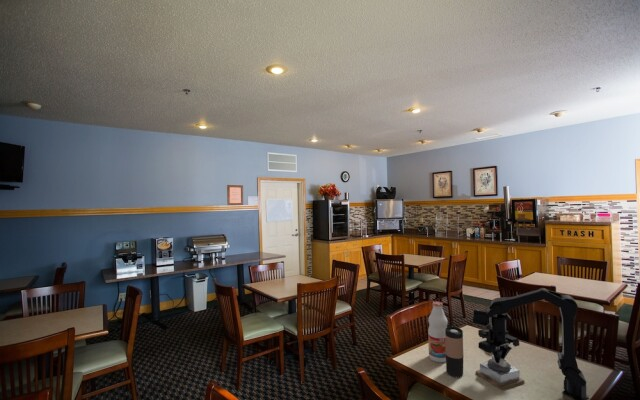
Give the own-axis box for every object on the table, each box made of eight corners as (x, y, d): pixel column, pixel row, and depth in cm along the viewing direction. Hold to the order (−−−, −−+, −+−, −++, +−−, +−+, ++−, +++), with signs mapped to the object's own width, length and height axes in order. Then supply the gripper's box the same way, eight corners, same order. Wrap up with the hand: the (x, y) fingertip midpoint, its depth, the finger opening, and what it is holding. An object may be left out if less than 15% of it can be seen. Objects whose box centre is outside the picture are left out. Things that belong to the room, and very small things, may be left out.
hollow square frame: (519, 379, 142) (519, 369, 142) (501, 384, 138) (501, 375, 138) (497, 367, 153) (497, 358, 153) (479, 372, 149) (479, 363, 149)
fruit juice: (445, 354, 169) (444, 300, 169) (451, 363, 159) (450, 306, 159) (426, 353, 169) (425, 300, 169) (431, 363, 160) (430, 306, 160)
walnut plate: (524, 383, 141) (524, 380, 141) (502, 390, 137) (502, 387, 137) (496, 367, 154) (496, 365, 154) (475, 373, 150) (475, 371, 150)
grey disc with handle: (515, 376, 143) (515, 360, 143) (500, 380, 140) (500, 364, 140) (497, 366, 151) (497, 351, 151) (483, 370, 148) (483, 355, 148)
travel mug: (448, 367, 156) (448, 325, 156) (465, 372, 151) (465, 329, 151) (443, 374, 150) (442, 330, 150) (460, 379, 145) (460, 334, 145)
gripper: (498, 318, 156) (498, 350, 156) (468, 324, 150) (468, 358, 150) (520, 326, 146) (520, 361, 146) (489, 333, 139) (489, 370, 139)
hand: (499, 362), depth 146 cm, fingers closed on grey disc with handle
